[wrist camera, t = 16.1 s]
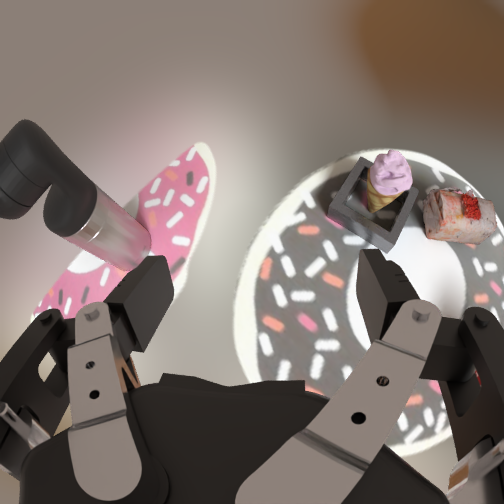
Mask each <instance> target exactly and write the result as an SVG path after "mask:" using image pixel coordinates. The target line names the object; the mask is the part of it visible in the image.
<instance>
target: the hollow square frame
mask: <svg viewBox="0 0 504 504" xmlns="http://www.w3.org/2000/svg"><path fill="white" fill-rule="evenodd" d="M372 165H374V163H372V162H370V161H368V160H367V159H365V158H363V157H360V158H359V160H358V161H357V163H356V165H355V166H354V168H353V169H352V171H351V173H350V174H349V176H348V177H347V179H346V181H345V182H344V184H343V185H342V187H341V188H340V190H339V191H338V193H337V195H336V196H335V198H334V199H333V201H332V202H331V204H330V205H329V209H328V214H327V217H328V218H330V219H332V220H333V221H335V222H337V223H338V224H340V225H342V226H343V227H345V228H347V229H348V230H350V231H352V232H353V233H355V234H356V235H358V236H360V237H361V238H363V239H365V240H366V241H368V242H369V243H371V244H373V245H374V246H376V247H377V248H379V249H380V250H382V251H384V252H385V253H388V252H389V251H390V250H391V249H392V248H393V247H394V245H395V243H396V241H397V239H398V237H399V235H400V233H401V231H402V229H403V227H404V225H405V222H406V220H407V218H408V216H409V214H410V211H411V209H412V207H413V204H414V202H415V200H416V197H417V195H418V193H419V190H418V189H416V188H415V187H413V186H411V187H410V189H408V190H405V191H404V192H403V193H402V194H400V195H399V196H398V197H397V198H396V199H397V200H399V201H400V202H402V205H401V207H400V210H399V212H398V214H397V216H396V218H395V220H394V222H393V224H392V226H391V228H390V230H389V232H388V231H387V230H385V229H384V228H382V227H380V226H379V225H377V224H376V223H374V222H372V221H371V220H369V219H367V218H366V217H364V216H362V215H361V214H359V213H357V212H356V211H354V210H352V209H351V208H349V207H347V206H345V204H346V202H347V200H348V199H349V197H350V195H351V194H352V192H353V191H354V189H355V187H356V186H357V184H358V182H359V181H360V179H363V180H365V181H367V177H368V170H369V168H370V167H371V166H372Z"/></svg>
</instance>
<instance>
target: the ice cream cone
mask: <svg viewBox="0 0 504 504" xmlns="http://www.w3.org/2000/svg"><path fill="white" fill-rule="evenodd" d="M411 185H412V176H411V169H410V168H409V166H408V163H407V161H406V159H405V158H404V157H403V156H402V154H401V153H400V152H399V151H394V150H389V151H388V154H379V155H378V156H377V157H376V159H375V161H374V165H372V166H371V167H370V168H369V170H368V177H367V199H368V210H369V212H371V213H374V212H376V211H378V210H379V209H381V208H383V207H385V206H386V205H388V204H389V203H391V202H392V201H393V200H395V199H396V198H397V197H398V196H399V195H400V194H402V193H403V192H404V191H405V190H408V189H410V187H411Z"/></svg>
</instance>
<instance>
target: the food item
mask: <svg viewBox="0 0 504 504" xmlns="http://www.w3.org/2000/svg"><path fill="white" fill-rule="evenodd" d="M454 190H455V191H457V192H458V191H460V189H455V188H445V189H437V190H434V189H433V190H431V191H430V193H429V195H428V196H427V198H426V199H424V201H423V205H424V206H423V211H424V213H423V219H424V223H425V230H426V235H427V238H428V239H434V240H440V241H452V242H459V243H470V244H480V243H481V242H483V241H484V240H485V239H486V238H487V237H489V236H490V235H491V234H492V233H493V232H495V229H496V226H497V222H496V216H495V210H494V205H493V203H492V201H491V200H485V199H482V198H478V197H474V195H473V191H471V190H472V189H471V190H469V191H468V192H466V193H465V194H464V193H463V194H457V193H453V192H451V191H454Z"/></svg>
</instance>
